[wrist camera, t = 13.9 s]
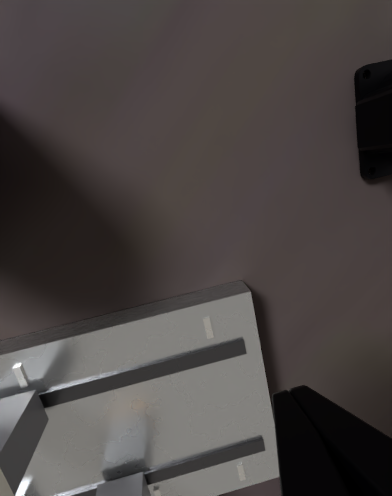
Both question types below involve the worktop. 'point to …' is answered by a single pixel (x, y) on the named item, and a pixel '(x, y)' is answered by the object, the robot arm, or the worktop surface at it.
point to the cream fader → (19, 437)
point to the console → (149, 398)
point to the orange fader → (125, 486)
